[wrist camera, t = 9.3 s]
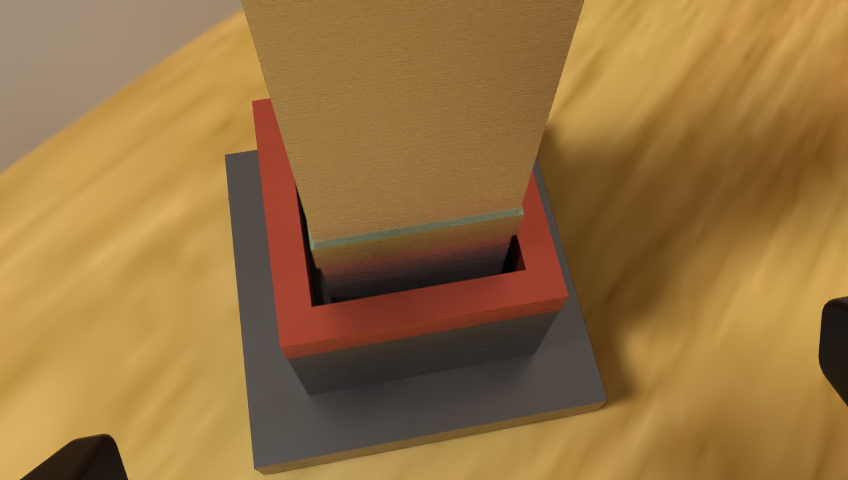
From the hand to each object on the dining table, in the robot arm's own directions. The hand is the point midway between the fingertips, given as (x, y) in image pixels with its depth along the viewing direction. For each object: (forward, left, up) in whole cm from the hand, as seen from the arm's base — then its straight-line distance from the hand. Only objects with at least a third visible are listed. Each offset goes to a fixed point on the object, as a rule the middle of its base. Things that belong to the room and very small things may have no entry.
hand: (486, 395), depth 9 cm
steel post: (+5, -5, -8) cm, 10 cm away
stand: (+5, -5, -13) cm, 15 cm away
